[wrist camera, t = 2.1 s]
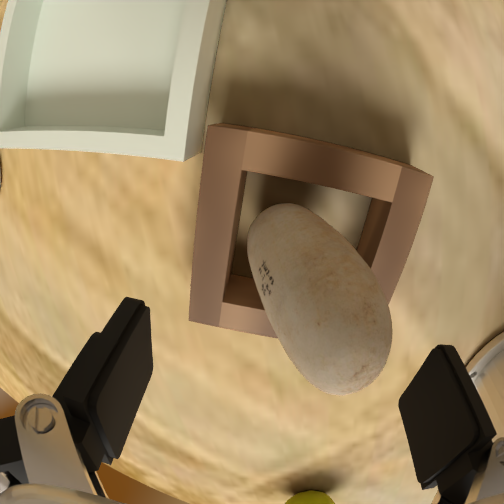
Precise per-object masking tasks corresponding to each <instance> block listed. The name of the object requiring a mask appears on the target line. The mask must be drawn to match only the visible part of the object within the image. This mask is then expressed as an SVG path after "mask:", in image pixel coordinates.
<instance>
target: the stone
mask: <svg viewBox="0 0 504 504" xmlns="http://www.w3.org/2000/svg"><path fill="white" fill-rule="evenodd" d="M247 252H248V259H249V263H250V267H251V271H252V274H253V277H254V281H255V284H256V287H257V290H258V292H259V295H260V298H261V301H262V304H263V306H264V309H265V312H266V314H267V316H268V319H269V321H270V323H271V325H272V327H273V329H274V331H275V333H276V335H277V337H278V339H279V341H280V342H281V344H282V346H283V348H284V350H285V351H286V353H287V355H288V357H289V358H290V360H291V361H292V362H293V364H294V365H295V366H296V368H297V369H298V371H299V372H300V373H301V374H302V375H303V376H304V377H305V378H306V379H307V380H308V381H309V382H310V383H311V384H312V385H314V386H315V387H316V388H318V389H319V390H321V391H323V392H325V393H328V394H332V395H347V394H351V393H355V392H358V391H360V390H361V389H363V388H365V387H367V386H368V385H369V384H371V383H372V382H373V381H374V380H375V379H376V378H377V377H378V376H379V374H380V373H381V371H382V370H383V368H384V366H385V364H386V361H387V358H388V355H389V352H390V348H391V343H392V321H391V315H390V310H389V307H388V304H387V301H386V298H385V295H384V293H383V291H382V288H381V286H380V284H379V282H378V280H377V278H376V277H375V275H374V273H373V272H372V270H371V269H370V267H369V266H368V264H367V263H366V262H365V261H364V260H363V258H362V257H361V256H360V255H359V254H358V252H357V251H356V250H355V248H354V247H353V246H352V245H351V244H350V243H349V242H348V240H347V239H346V238H345V237H344V236H342V235H341V234H340V233H339V232H338V231H336V230H335V229H334V228H333V227H331V226H330V225H329V224H328V223H327V222H325V221H324V220H323V219H322V218H320V217H319V216H317V215H316V214H314V213H313V212H311V211H310V210H309V209H307V208H305V207H302V206H300V205H297V204H292V203H283V204H276V205H274V206H271V207H269V208H267V209H265V210H264V211H263V212H261V213H260V214H259V215H258V216H257V217H256V219H255V220H254V221H253V223H252V224H251V226H250V228H249V232H248V240H247Z"/></svg>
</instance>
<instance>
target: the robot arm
mask: <svg viewBox="0 0 504 504" xmlns="http://www.w3.org/2000/svg"><path fill="white" fill-rule="evenodd" d="M152 372H153V357H152V342H151V322H150V308H149V307H147V306H145V303H144V301H142V300H138V299H134V298H129V297H125V298H124V299H123V301H122V302H121V304H120V305H119V307H118V308H117V310H116V311H115V313H114V314H113V316H112V317H111V318H110V320H109V321H108V323H107V324H106V326H105V327H104V329H103V331H102V332H101V333H99V332H95V333H93V334H92V336H91V337H90V338H89V340H88V341H87V343H86V344H85V346H84V347H83V349H82V350H81V352H80V353H79V355H78V356H77V358H76V360H75V361H74V363H73V364H72V366H71V367H70V369H69V370H68V372H67V374H66V375H65V377H64V378H63V380H62V382H61V383H60V385H59V386H58V388H57V390H56V391H55V393H54V395H53V396H52V397H51V396H49V395H46V394H33V395H30V396H27V397H26V398H25V399H23V400H22V401H21V402H20V403H19V405H18V406H17V409H16V411H15V416H11V417H7V418H3V419H0V504H125V503H121V502H117V501H114V500H111V499H109V498H108V496H107V494H106V492H105V490H104V488H103V486H102V484H101V481H100V479H99V477H98V475H97V472H96V471H97V470H99V467H100V465H101V462H104V463H107V464H109V465H111V463H112V461H113V458H116V459H118V458H119V457H120V455H121V452H122V450H123V447H124V444H125V442H126V439H127V436H128V434H129V431H130V429H131V426H132V423H133V421H134V418H135V416H136V413H137V411H138V408H139V405H140V403H141V400H142V398H143V395H144V393H145V390H146V388H147V385H148V383H149V381H150V378H151V375H152ZM399 410H400V413H401V417H402V420H403V424H404V428H405V431H406V435H407V439H408V443H409V447H410V451H411V455H412V459H413V463H414V467H415V472H416V476H417V480H418V482H419V483H421V487H422V490H424V489H429V488H434V487H435V486H437V485H438V491H437V493H436V495H435V497H434V499H433V501H432V503H431V504H504V332H502V333H501V334H499V335H498V336H496V337H495V338H494V339H493V340H491V341H490V342H489V343H488V344H486V345H485V346H484V347H483V348H482V349H481V350H480V351H479V352H478V353H477V354H476V355H475V357H474V358H473V359H472V360H471V361H470V362H469V364H468V365H467V367H465V365H464V364H463V362H462V360H461V358H460V356H459V354H458V352H457V351H456V349H455V347H454V346H452V345H437V346H436V347H435V349H432V351H431V352H430V354H429V355H428V357H427V358H426V360H425V362H424V363H423V365H422V366H421V368H420V369H419V371H418V372H417V374H416V375H415V377H414V378H413V380H412V381H411V383H410V384H409V386H408V387H407V388H406V390H405V391H404V393H403V394H402V395H401V397H400V399H399Z"/></svg>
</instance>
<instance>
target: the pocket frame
mask: <svg viewBox="0 0 504 504" xmlns="http://www.w3.org/2000/svg"><path fill="white" fill-rule="evenodd" d="M247 171H250V172H256V173H262V174H267V175H272V176H278V177H283V178H288V179H293V180H298V181H303V182H308V183H312V184H317V185H322V186H326V187H331V188H335V189H339V190H344V191H348V192H352V193H356V194H361V195H365V196H369V197H372V201H371V204H370V208H369V211H368V215H367V218H366V222H365V225H364V228H363V232H362V235H361V238H360V242H359V245H358V248H357V252H358V254H359V255H360V256H361V257H362V258H363V260H364V261H365V262H366V263H367V264H368V266H369V267H370V269H371V270H372V272H373V273H374V275H375V277H376V278H377V280H378V282H379V284H380V286H381V288H382V291H383V293H384V295H385V298H386V301H387V304H389V302H390V300H391V297H392V295H393V293H394V290H395V288H396V286H397V283H398V281H399V278H400V276H401V273H402V271H403V268H404V265H405V263H406V260H407V258H408V255H409V252H410V250H411V247H412V244H413V241H414V238H415V235H416V233H417V230H418V227H419V224H420V221H421V218H422V214H423V211H424V208H425V205H426V202H427V198H428V195H429V192H430V188H431V185H432V181H433V176H431V175H429V174H427V173H426V172H424V171H422V170H420V169H418V168H416V167H414V166H412V165H409V164H406V163H403V162H399V161H396V160H393V159H389V158H386V157H383V156H379V155H375V154H372V153H368V152H365V151H361V150H357V149H353V148H349V147H345V146H341V145H337V144H333V143H329V142H324V141H320V140H315V139H311V138H306V137H301V136H297V135H292V134H286V133H281V132H276V131H270V130H264V129H259V128H252V127H246V126H240V125H233V124H226V123H219V124H213V125H208V129H207V136H206V143H205V151H204V158H203V166H202V174H201V183H200V192H199V201H198V210H197V220H196V230H195V241H194V252H193V264H192V277H191V291H190V306H189V321H193V322H197V323H202V324H206V325H211V326H216V327H221V328H225V329H230V330H235V331H241V332H246V333H251V334H256V335H262V336H268V337H273V338H278V337H277V335H276V333H275V331H274V329H273V327H272V325H271V323H270V321H269V319H268V316H267V314H266V312H265V309H264V306H263V304H262V301H261V298H260V295H259V292H258V290H257V287H256V284H255V281H254V278H249V277H244V276H239V275H234V274H231V272H232V266H233V259H234V253H235V246H236V239H237V233H238V227H239V220H240V214H241V207H242V201H243V195H244V189H245V182H246V176H247Z"/></svg>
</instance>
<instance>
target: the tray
mask: <svg viewBox="0 0 504 504" xmlns="http://www.w3.org/2000/svg"><path fill="white" fill-rule="evenodd" d="M226 2H227V0H8V3H7V7H6V11H5V15H4V19H3V23H2V27H1V32H0V148H22V149H52V150H71V151H86V152H99V153H111V154H122V155H132V156H142V157H151V158H159V159H168V160H176V161H183V162H184V161H186V160H187V159H189V158H191V157H193V156H195V155H197V154H199V153H201V151H202V143H203V136H204V128H205V121H206V114H207V108H208V101H209V95H210V88H211V82H212V76H213V70H214V64H215V59H216V53H217V48H218V42H219V37H220V32H221V27H222V22H223V17H224V12H225V7H226Z"/></svg>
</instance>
